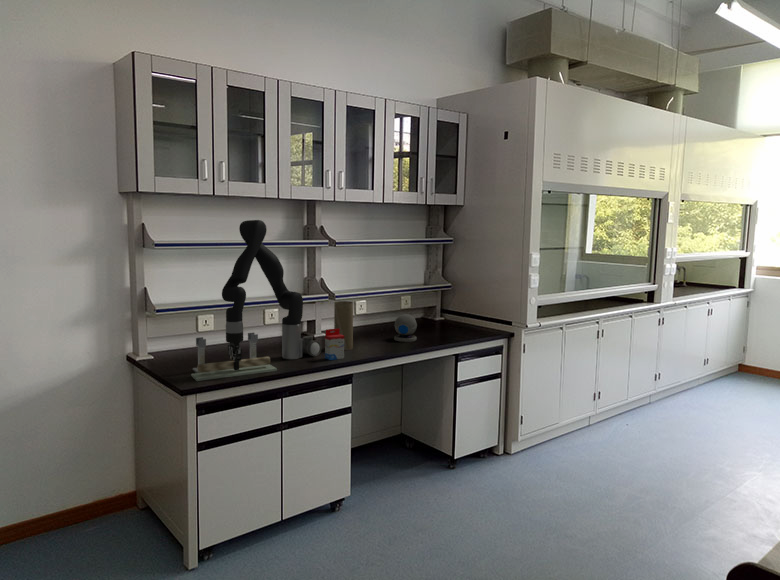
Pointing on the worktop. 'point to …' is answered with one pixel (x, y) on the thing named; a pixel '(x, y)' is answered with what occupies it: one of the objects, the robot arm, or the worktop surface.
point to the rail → (230, 364)
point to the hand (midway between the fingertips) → (235, 368)
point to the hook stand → (202, 344)
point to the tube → (344, 321)
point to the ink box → (334, 345)
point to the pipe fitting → (310, 346)
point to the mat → (233, 372)
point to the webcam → (405, 328)
